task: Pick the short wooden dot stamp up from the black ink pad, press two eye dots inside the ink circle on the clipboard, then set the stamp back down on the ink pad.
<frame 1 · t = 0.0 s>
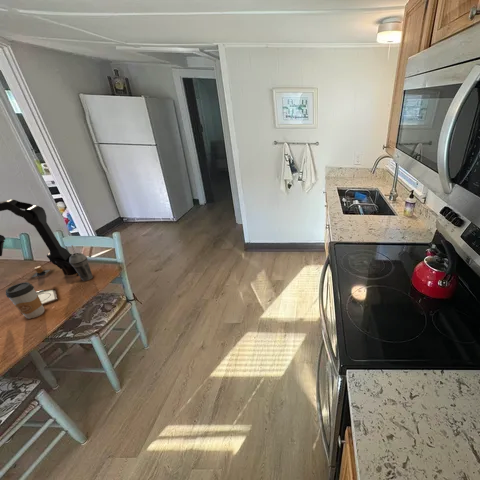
stamp: (41, 273, 148), point 1 cm above the table, touching ink pad
ink pad: (42, 274, 148), on the table
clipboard: (39, 299, 129), on the table
coffee cup: (35, 314, 120), on the table
beverage cup: (87, 278, 144), on the table
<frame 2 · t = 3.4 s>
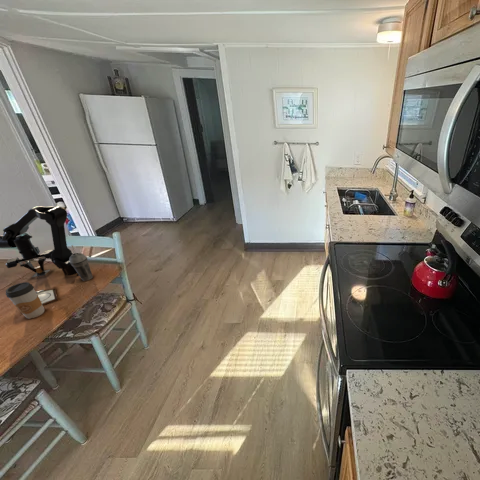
hand: (40, 271, 147), 2 cm above the table, tool pointing down, fingers closed on stamp, 2 cm apart
stamp: (41, 273, 148), point 1 cm above the table, touching gripper, ink pad
everything else where it was.
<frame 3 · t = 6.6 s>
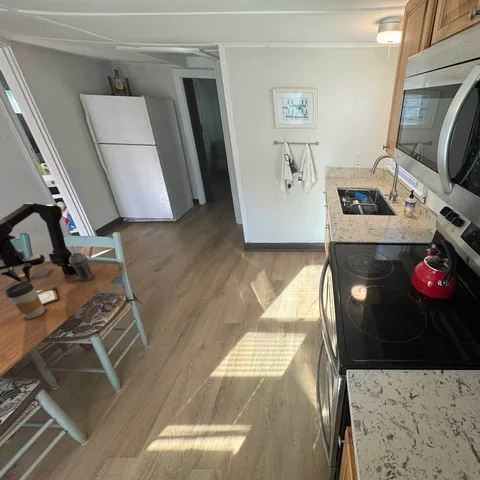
hand: (25, 280, 124), 11 cm above the table, tool pointing down, fingers closed on stamp, 2 cm apart
stamp: (26, 282, 125), point 10 cm above the table, touching gripper
everything else where it was.
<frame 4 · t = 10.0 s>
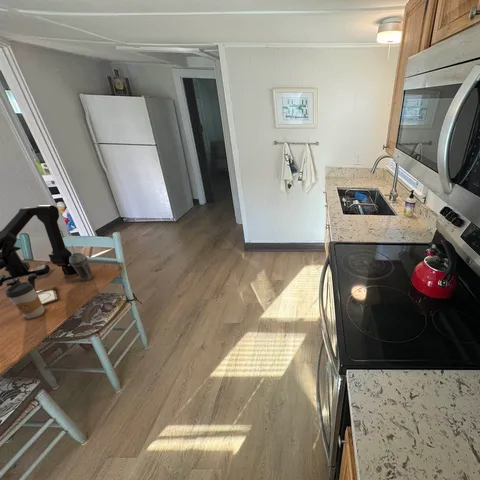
hand: (30, 290, 126), 6 cm above the table, tool pointing down, fingers closed on stamp, 2 cm apart
stamp: (31, 292, 127), point 5 cm above the table, touching gripper
everything else where it was.
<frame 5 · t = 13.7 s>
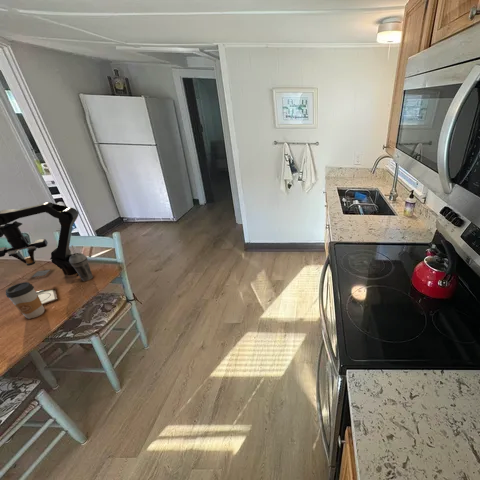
hand: (30, 262, 139), 11 cm above the table, tool pointing down, fingers closed on stamp, 2 cm apart
stamp: (31, 264, 140), point 10 cm above the table, touching gripper
everything else where it was.
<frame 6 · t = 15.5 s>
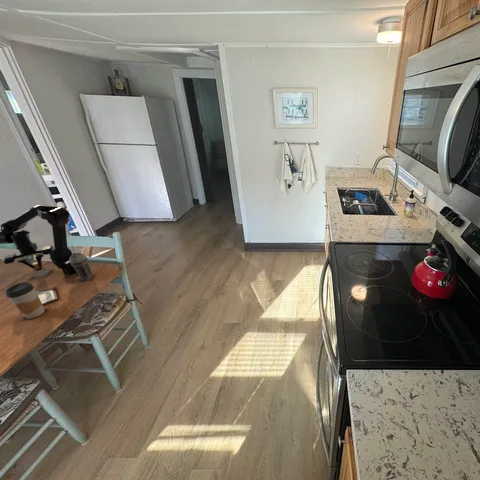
hand: (37, 267, 146), 5 cm above the table, tool pointing down, fingers closed on stamp, 2 cm apart
stamp: (38, 269, 146), point 4 cm above the table, touching gripper
everything else where it was.
when the fingers open (2 cm above the table, at t = 16.4 s): stamp stays where it is, resting on ink pad.
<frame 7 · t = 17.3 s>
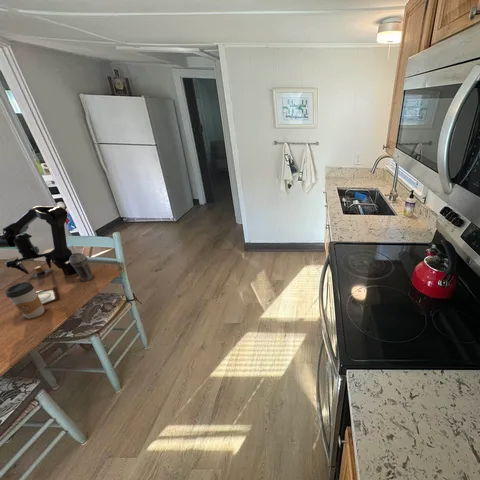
hand: (39, 270, 147), 3 cm above the table, tool pointing down, fingers open, 9 cm apart
stamp: (41, 273, 148), point 1 cm above the table, touching ink pad
everything else where it was.
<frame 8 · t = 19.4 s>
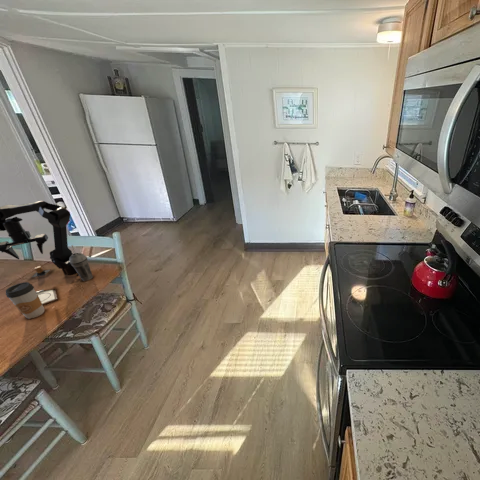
hand: (30, 256, 142), 12 cm above the table, tool pointing down, fingers open, 9 cm apart
nothing on the table moved.
at the end: stamp 0.0 cm off-centre on the ink pad, point 1.0 cm above the ink pad's base; stamp tilted 0°; stamp touching ink pad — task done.
